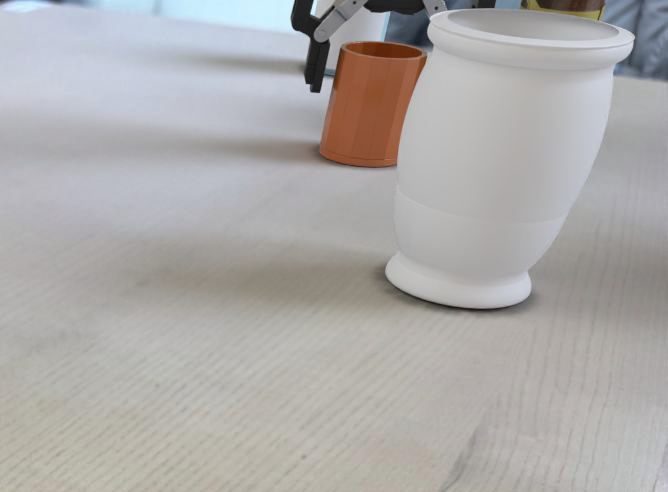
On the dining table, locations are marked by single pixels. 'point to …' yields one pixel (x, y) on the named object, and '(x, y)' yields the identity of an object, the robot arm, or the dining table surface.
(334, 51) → the can
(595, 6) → the sauce bottle
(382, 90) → the cup
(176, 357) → the dining table surface
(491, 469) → the dining table surface
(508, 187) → the jar
